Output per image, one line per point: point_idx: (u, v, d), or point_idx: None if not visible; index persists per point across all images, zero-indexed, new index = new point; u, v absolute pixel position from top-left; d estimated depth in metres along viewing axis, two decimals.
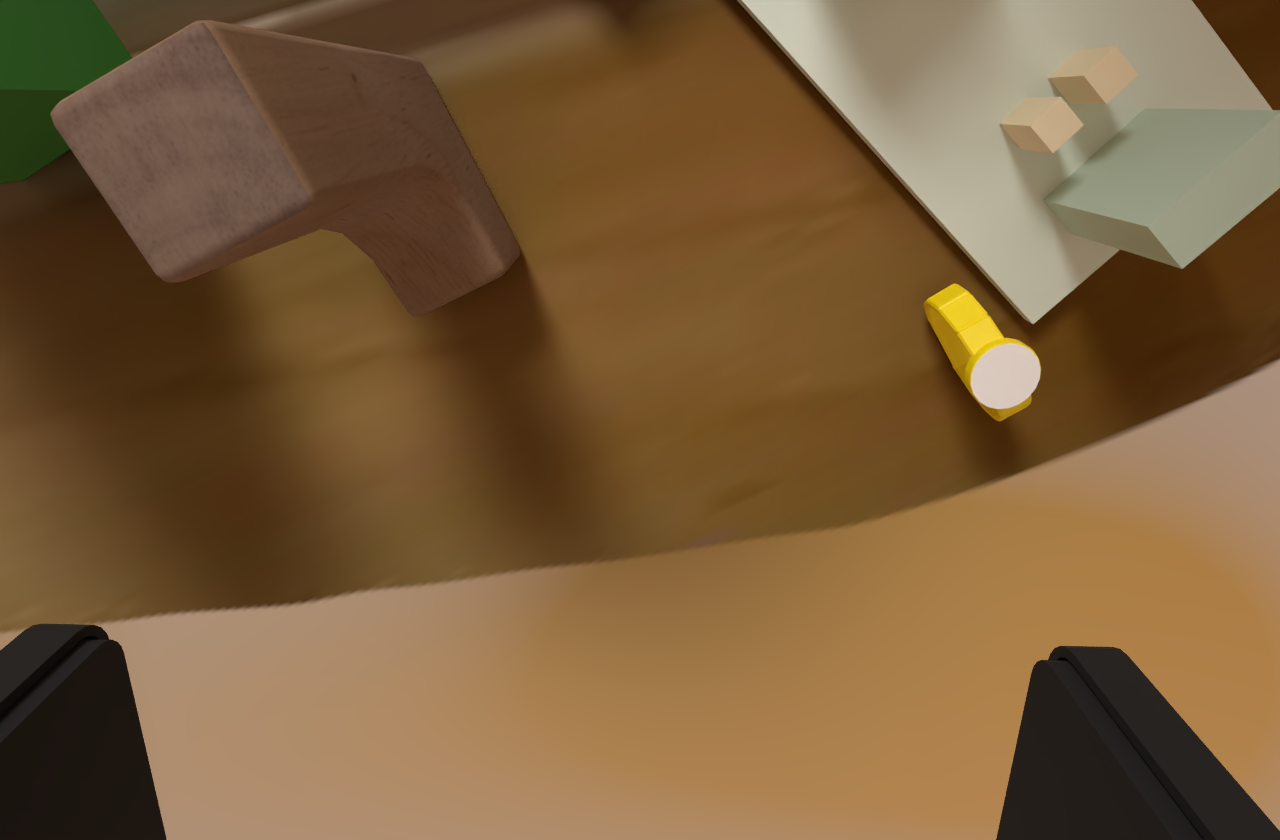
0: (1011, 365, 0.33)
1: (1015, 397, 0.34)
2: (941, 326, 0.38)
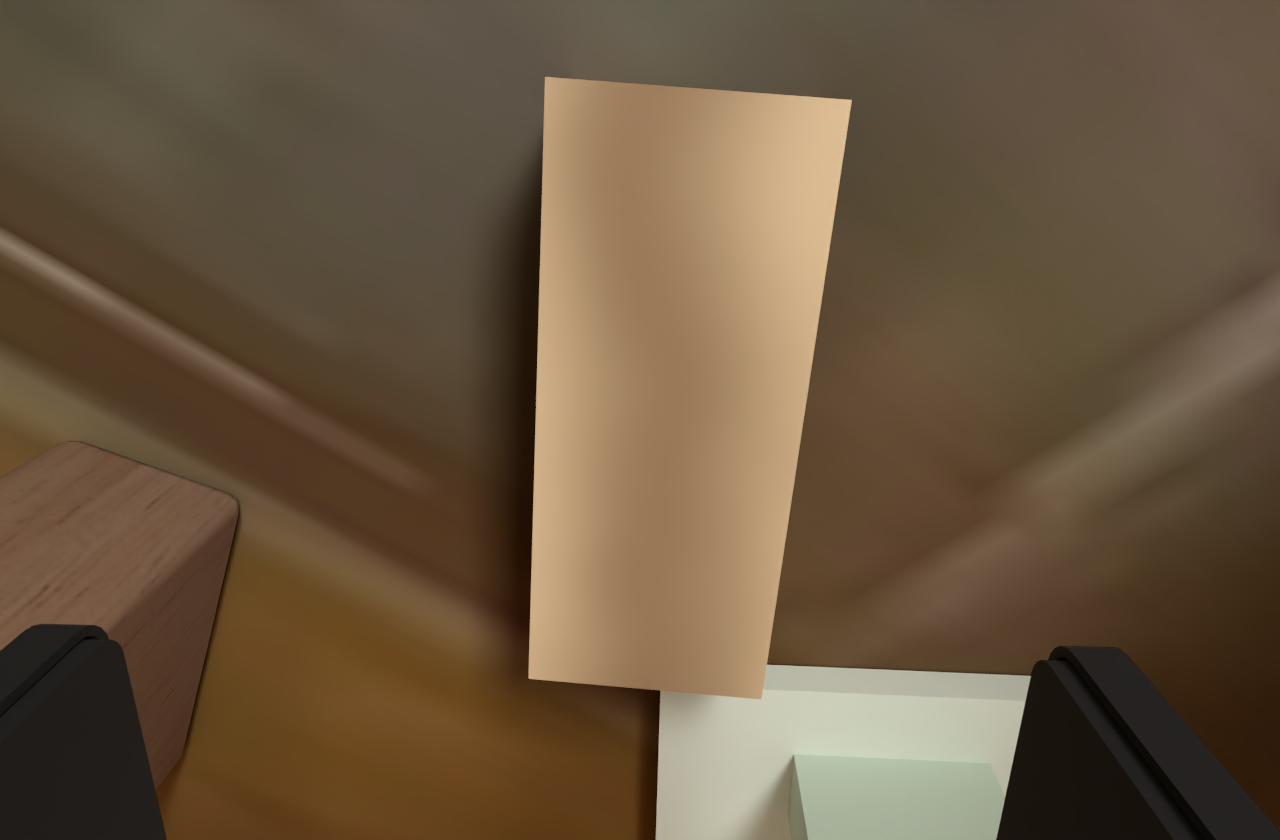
0: None
1: None
2: None
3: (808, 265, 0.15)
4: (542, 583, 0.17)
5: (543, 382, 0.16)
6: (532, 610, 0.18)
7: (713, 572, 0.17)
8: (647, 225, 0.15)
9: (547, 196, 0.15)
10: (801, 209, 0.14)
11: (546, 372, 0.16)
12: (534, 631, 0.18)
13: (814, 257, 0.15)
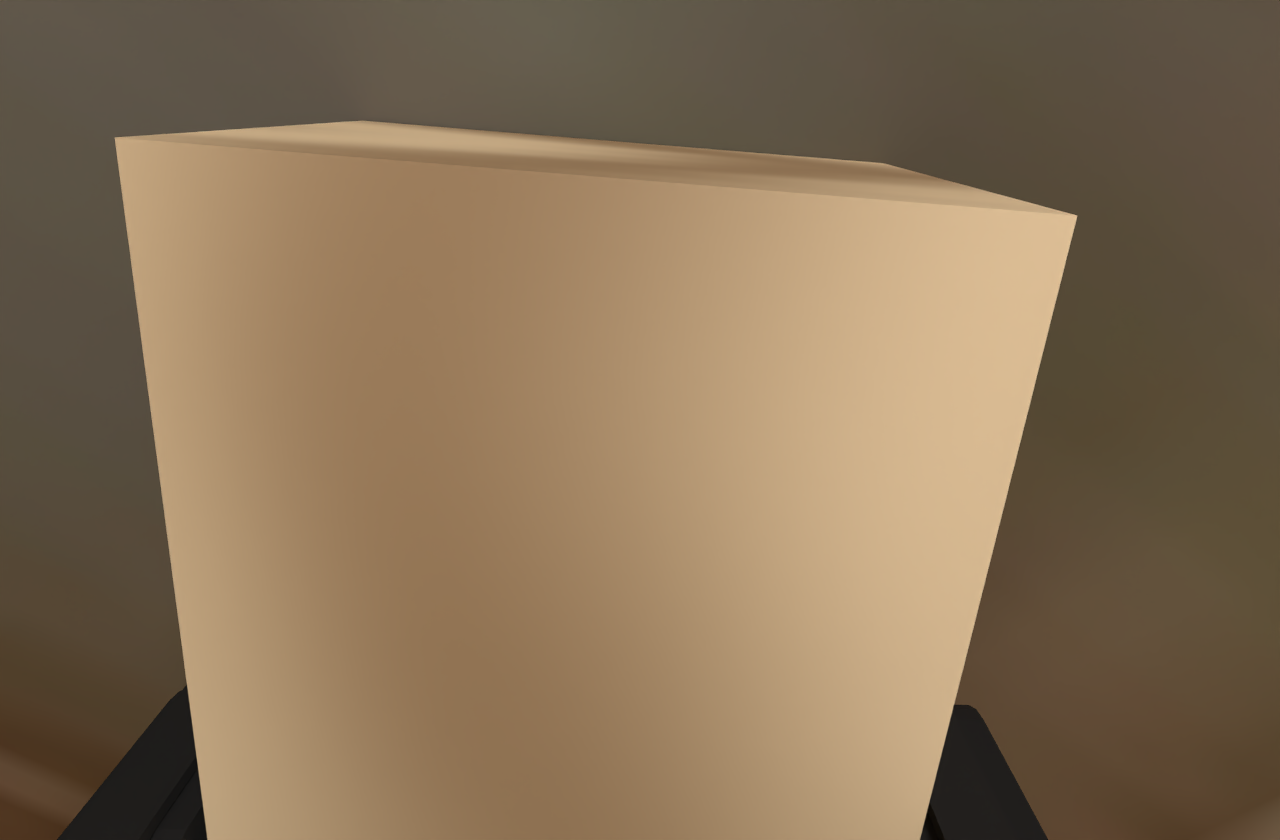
0: None
1: None
2: None
3: (917, 648, 0.05)
4: None
5: None
6: None
7: None
8: (471, 551, 0.05)
9: (174, 476, 0.05)
10: (904, 512, 0.05)
11: None
12: None
13: (935, 630, 0.05)
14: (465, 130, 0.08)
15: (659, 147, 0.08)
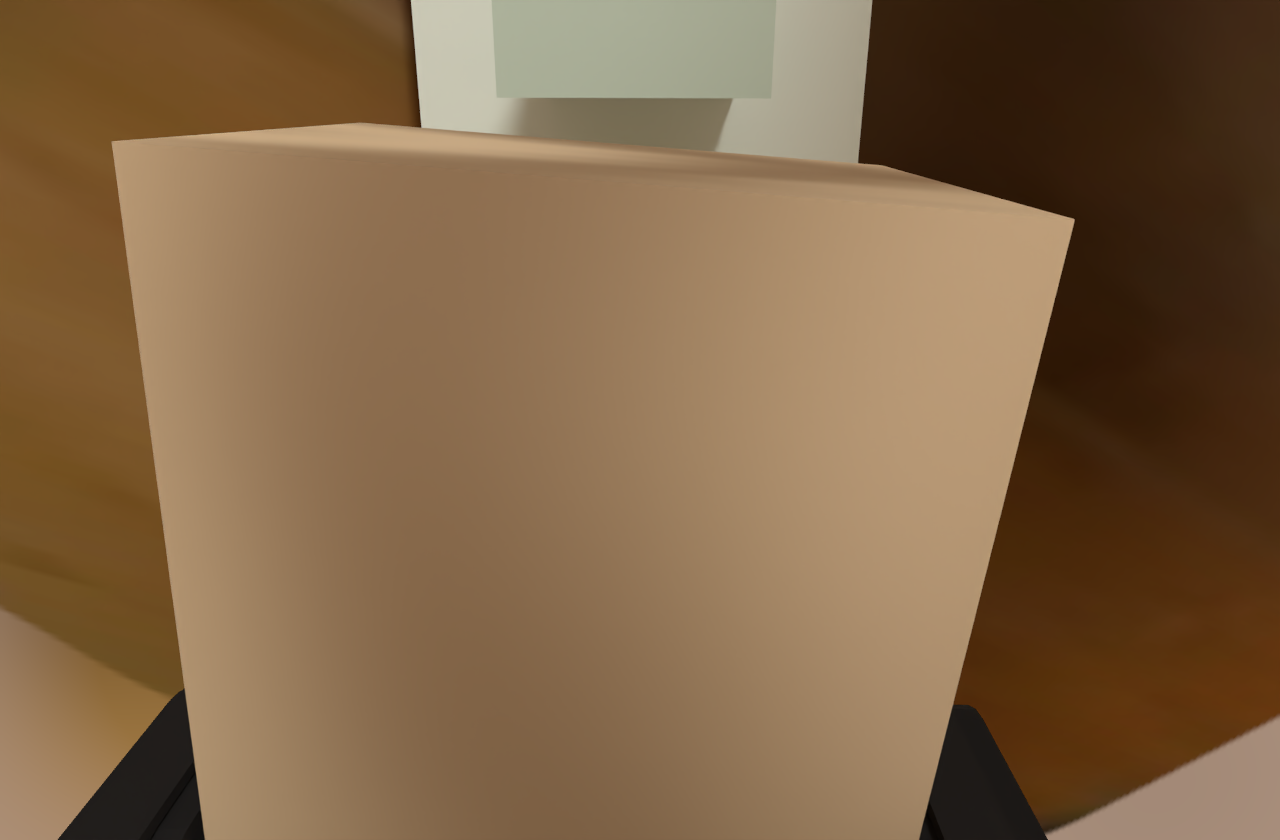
0: None
1: None
2: None
3: (916, 651, 0.05)
4: None
5: None
6: None
7: None
8: (469, 554, 0.05)
9: (172, 479, 0.05)
10: (901, 515, 0.05)
11: None
12: None
13: (933, 633, 0.05)
14: (463, 132, 0.08)
15: (658, 149, 0.08)
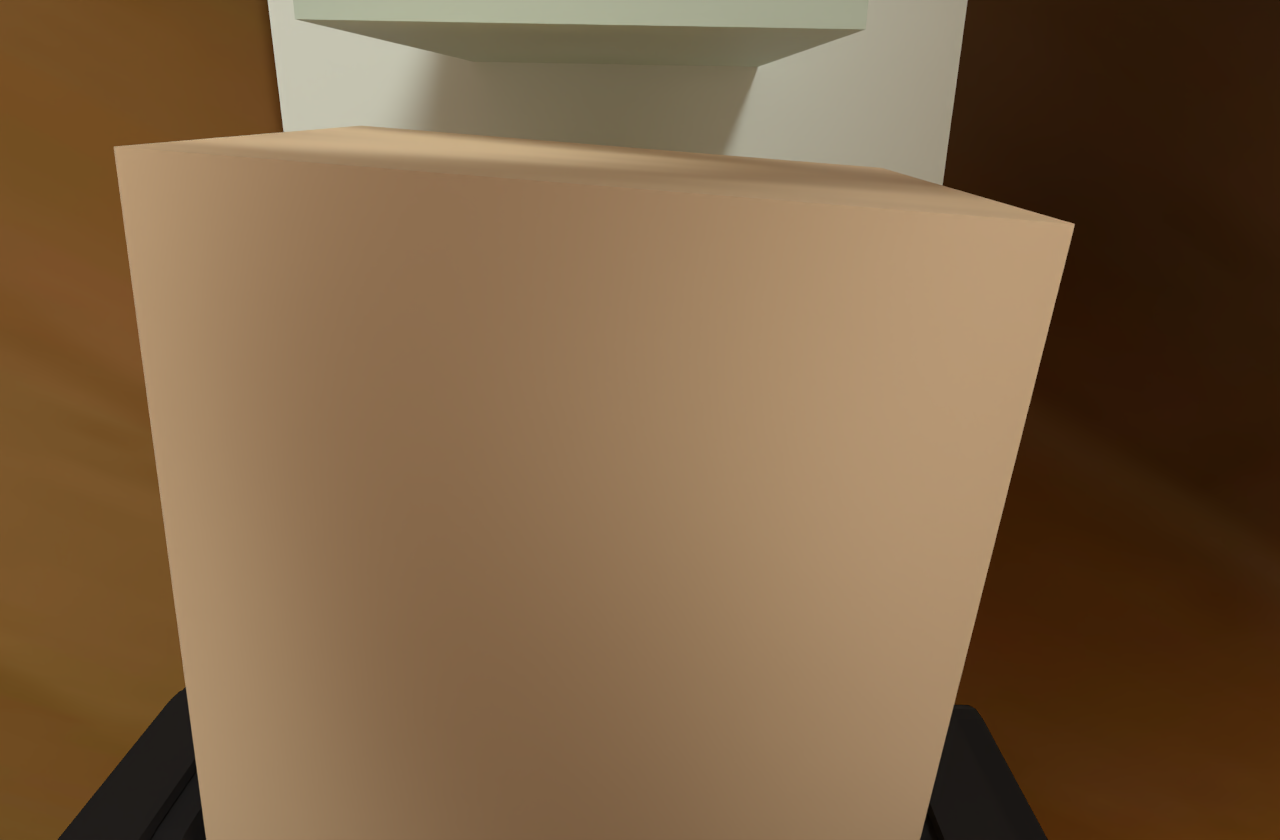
0: None
1: None
2: None
3: (916, 654, 0.05)
4: None
5: None
6: None
7: None
8: (469, 557, 0.05)
9: (174, 483, 0.05)
10: (903, 520, 0.05)
11: None
12: None
13: (934, 636, 0.05)
14: (464, 135, 0.08)
15: (658, 152, 0.08)
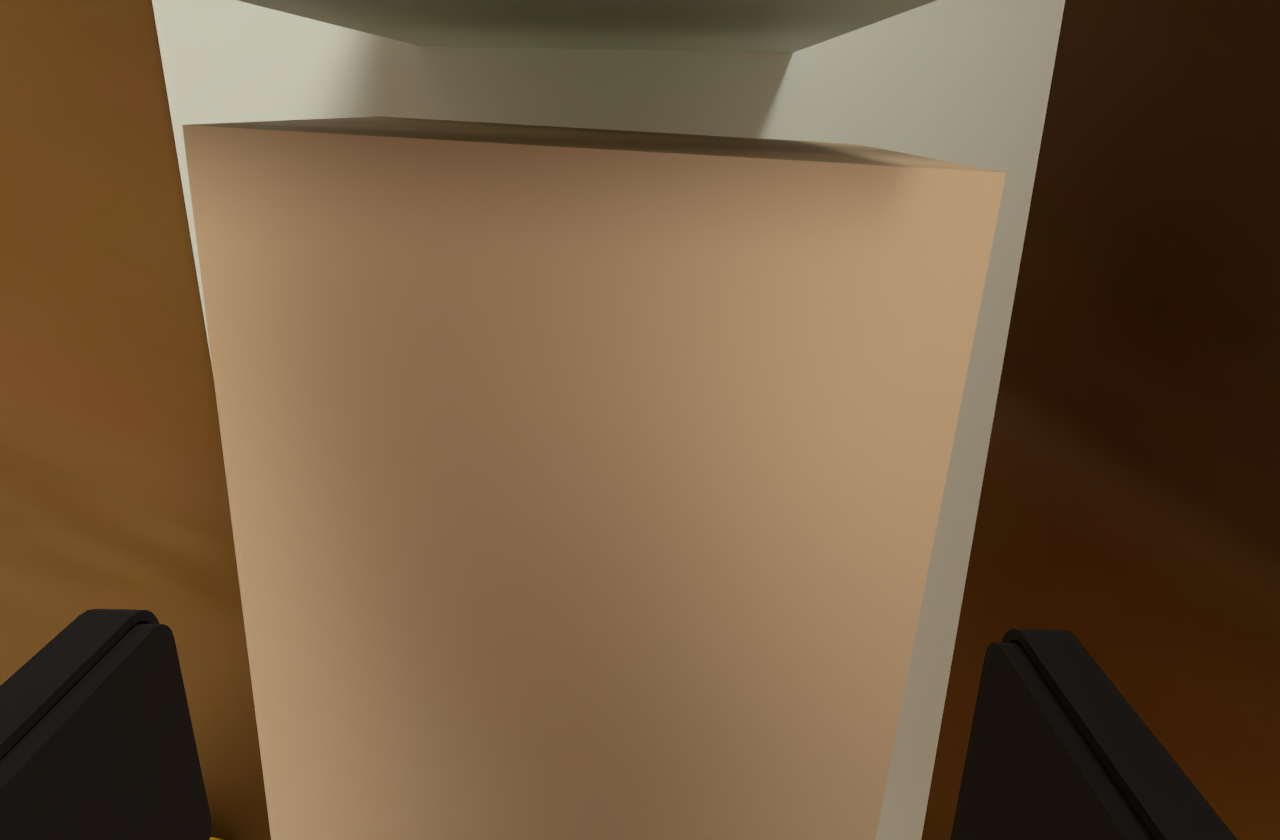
0: None
1: None
2: None
3: (885, 562, 0.06)
4: None
5: (281, 808, 0.07)
6: None
7: None
8: (489, 483, 0.06)
9: (232, 420, 0.06)
10: (869, 439, 0.06)
11: (286, 787, 0.07)
12: None
13: (900, 546, 0.06)
14: (474, 122, 0.09)
15: (651, 133, 0.08)
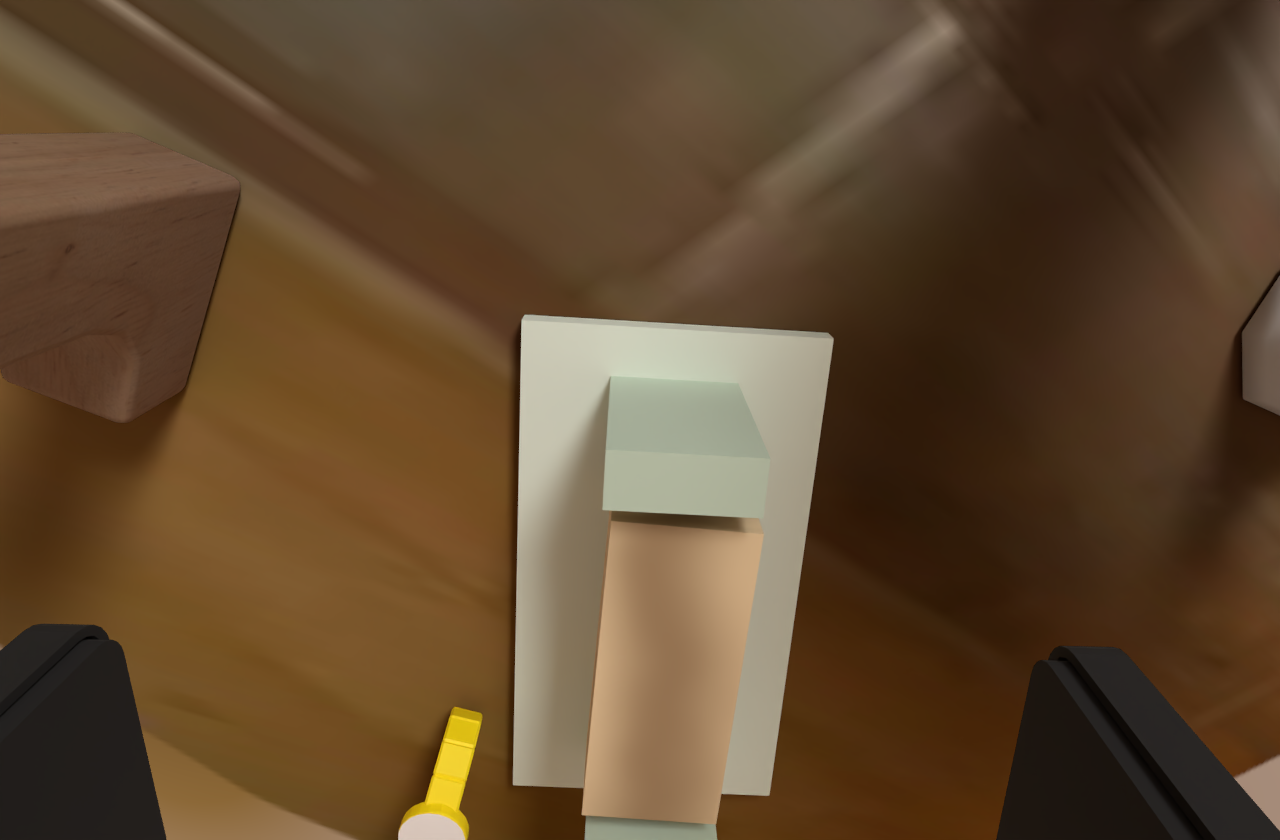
0: (443, 834, 0.35)
1: None
2: None
3: (742, 606, 0.29)
4: (593, 762, 0.31)
5: (601, 660, 0.29)
6: (586, 777, 0.31)
7: (690, 756, 0.31)
8: (660, 587, 0.28)
9: (608, 573, 0.28)
10: (739, 580, 0.28)
11: (602, 655, 0.29)
12: (587, 788, 0.31)
13: (745, 602, 0.29)
14: None
15: None
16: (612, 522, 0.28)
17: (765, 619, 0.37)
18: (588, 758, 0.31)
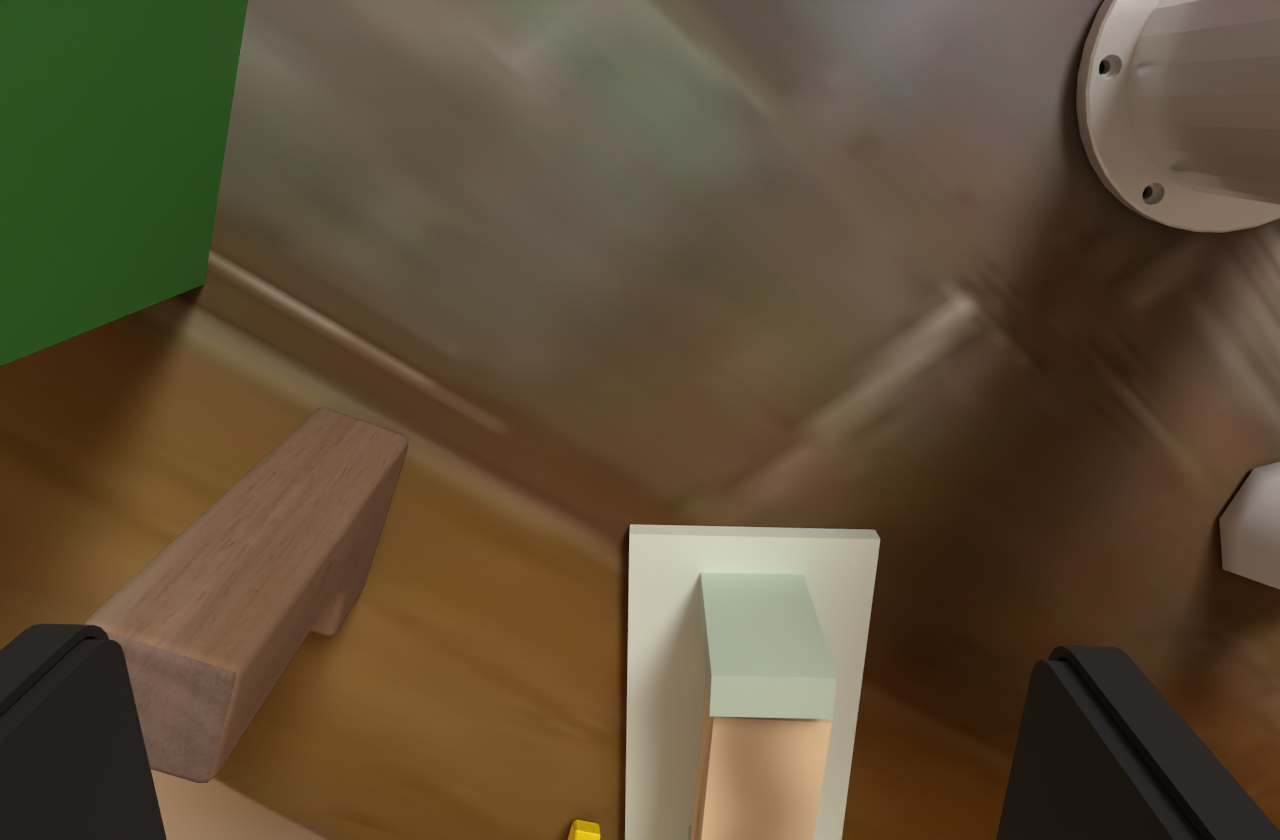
0: None
1: None
2: None
3: (816, 773, 0.37)
4: None
5: (706, 814, 0.38)
6: None
7: None
8: (752, 762, 0.37)
9: (712, 753, 0.37)
10: (813, 755, 0.37)
11: (708, 810, 0.38)
12: None
13: (818, 771, 0.37)
14: None
15: None
16: (715, 717, 0.36)
17: (829, 749, 0.45)
18: None
